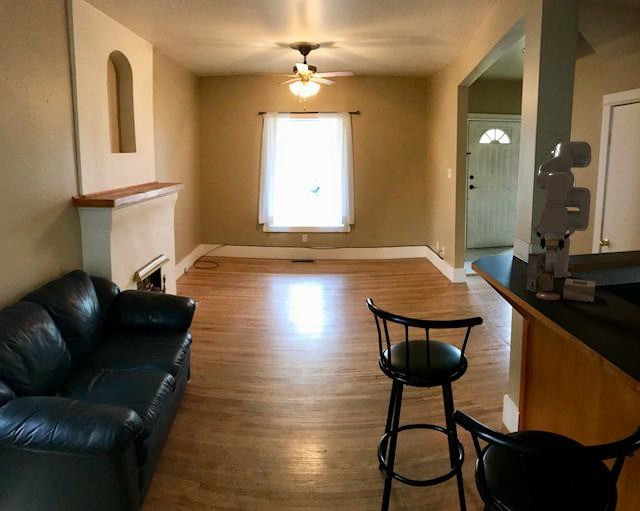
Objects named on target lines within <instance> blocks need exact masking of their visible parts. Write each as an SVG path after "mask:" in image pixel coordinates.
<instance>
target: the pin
mask: <svg viewBox="0 0 640 511" xmlns="http://www.w3.org/2000/svg"><path fill="white" fill-rule="evenodd" d="M544 238H545V239H544V248H546V250H545V252H546V261H545V271H548V272H555V271H556V259H557V248H559V247H560V240H561V239H557V238H548V237H544Z"/></svg>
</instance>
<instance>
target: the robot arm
mask: <svg viewBox="0 0 640 511" xmlns="http://www.w3.org/2000/svg"><path fill="white" fill-rule="evenodd" d="M592 158H593V155H592V147H591V145H590V143H589V142H587V141H583V140H582V141H579V140H578V141H562V142H560V143H557V144H556V146H555V147H554V150H552V151H550V153H549V155H548V159H549V160H547V161H545V162H544V163H542V164H541V165H540V166H539V168H538V170H537V173H536V177H535V187H536V188H537V189H538V190H539V191H545V198H544V200H545V201H544V207H542V209H541V210H542V211H541V214H540V222H539V223H538V224H537V225H536V226H534V228H532V231H533V232H534V233H535V234H536V235H537V237H538V238H539V239H540V245H539V246H540V248H541V249H542V250H544V249H545V247H544V239H545V238H546V237H545V236H546V234H548V237H547V238H557V239H561V240H560V247H559V248H557V259H556V271H555V272H554V278H558V279H559V278H560V279H561V278H562V277H564V278H562V279H566V278H570V277H571V276H572V273H571V272H569V270H568V268H569V257H570V256H569V255H570V246H571V240H570V236H572V235H573V234H574V233H575V232H584V231H586V230H587V229H588V227H589V223H590V213H591V212H590V210H591V198H592V197H591V196H592V195H591V191H590V189H589V188H587V187H583V186H578V187H577V186H575V174H574V173H573V171H571V170H572V169H573V168H575V169H578V168H580V169H584V168H588V167H589V166H590V165H591V162H592ZM568 208H577V209H578V210H571V209H570V210H569V209H568ZM538 229H539V230H538ZM567 231H568V233H567ZM565 277H566V278H565Z"/></svg>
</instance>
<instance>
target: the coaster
mask: <svg viewBox="0 0 640 511" xmlns="http://www.w3.org/2000/svg"><path fill="white" fill-rule="evenodd" d="M535 294H536V295H535V296H536V298H538V299H541V300H545V301H559V300H560V299H561V295H560V294H559V293H555V292H551V291H543V292H536V293H535Z"/></svg>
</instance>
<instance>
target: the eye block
mask: <svg viewBox="0 0 640 511" xmlns="http://www.w3.org/2000/svg"><path fill="white" fill-rule="evenodd" d="M595 290H596V281H594V280H583V279H572V278H565V281H564V284H563V293H562V294H563V295H562V299H564V300H571V301H579V302H588V301H590V302H589V303H594V300H595Z"/></svg>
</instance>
